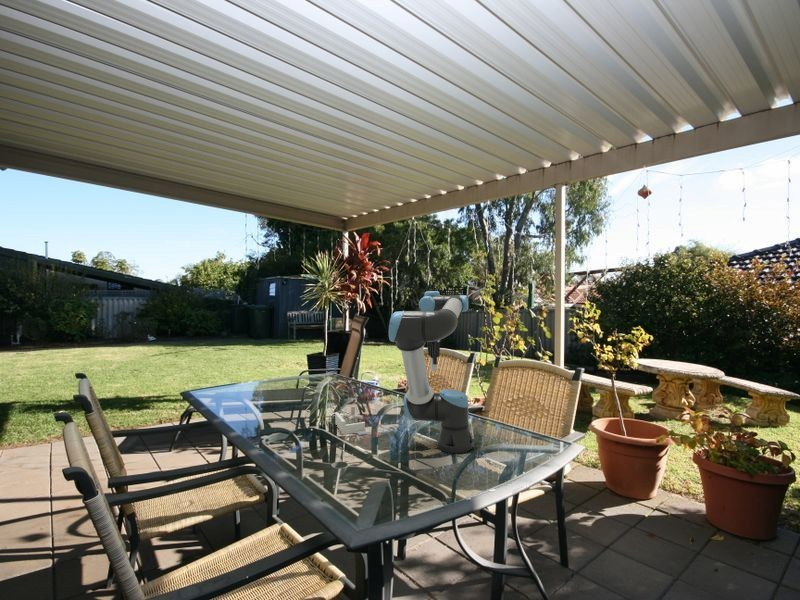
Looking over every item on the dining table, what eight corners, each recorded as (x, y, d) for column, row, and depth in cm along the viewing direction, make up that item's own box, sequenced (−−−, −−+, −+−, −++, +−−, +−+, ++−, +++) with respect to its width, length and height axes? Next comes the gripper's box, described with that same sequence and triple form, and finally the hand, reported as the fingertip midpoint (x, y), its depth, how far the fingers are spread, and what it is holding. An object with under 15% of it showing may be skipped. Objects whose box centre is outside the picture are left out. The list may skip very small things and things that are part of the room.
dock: (368, 434, 197) (367, 421, 197) (345, 438, 194) (344, 425, 193) (354, 418, 222) (353, 407, 222) (333, 421, 218) (333, 409, 218)
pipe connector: (358, 431, 202) (357, 410, 202) (339, 429, 206) (338, 408, 206) (367, 424, 212) (366, 404, 211) (349, 422, 215) (348, 403, 215)
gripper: (445, 323, 203) (447, 372, 204) (434, 321, 215) (435, 367, 216) (431, 324, 200) (432, 373, 201) (420, 322, 213) (421, 369, 213)
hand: (434, 370), depth 209 cm, fingers closed
